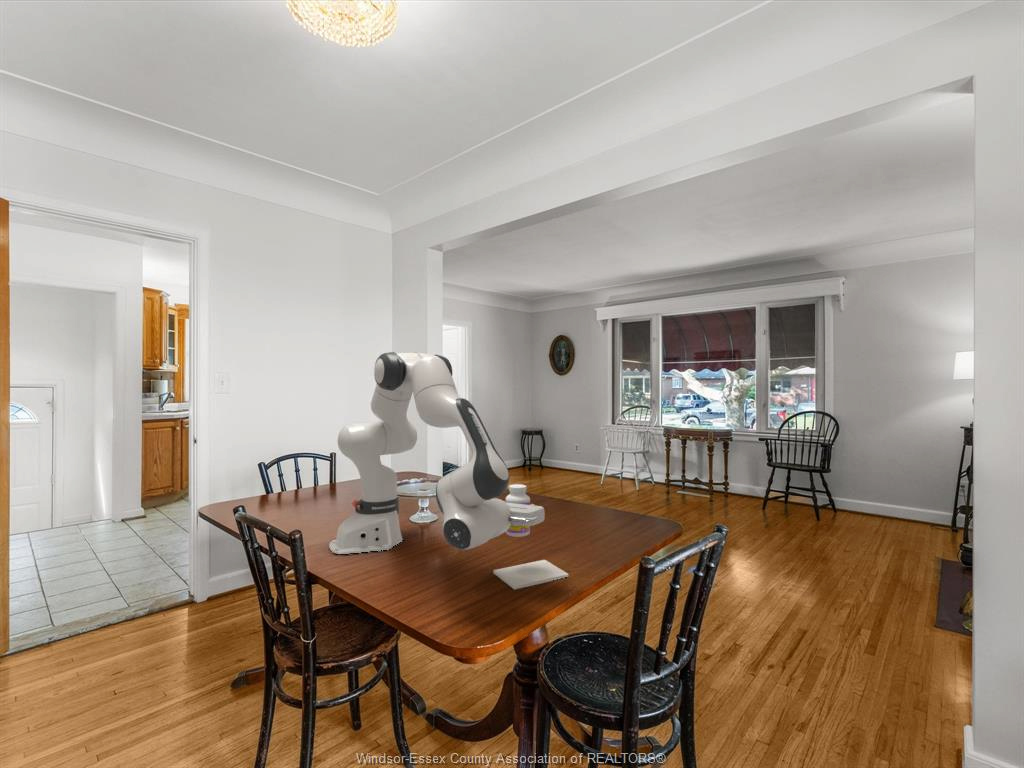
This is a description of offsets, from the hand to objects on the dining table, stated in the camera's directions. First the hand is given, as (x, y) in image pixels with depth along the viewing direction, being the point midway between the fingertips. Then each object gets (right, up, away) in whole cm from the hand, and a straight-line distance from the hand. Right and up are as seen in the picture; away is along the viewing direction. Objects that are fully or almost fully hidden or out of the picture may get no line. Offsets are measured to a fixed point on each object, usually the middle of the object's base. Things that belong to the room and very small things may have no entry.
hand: (519, 505), depth 133 cm
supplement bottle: (0, -8, -1) cm, 8 cm away
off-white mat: (+3, -18, -3) cm, 18 cm away
